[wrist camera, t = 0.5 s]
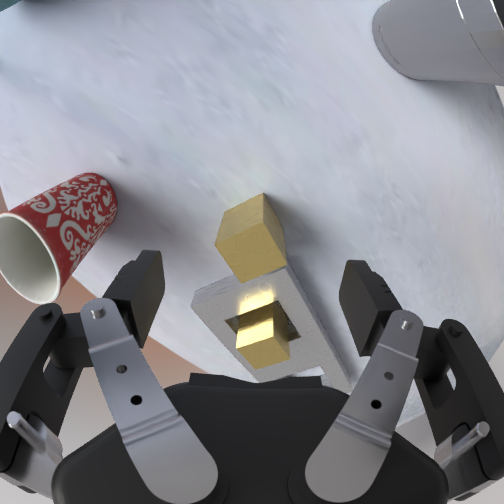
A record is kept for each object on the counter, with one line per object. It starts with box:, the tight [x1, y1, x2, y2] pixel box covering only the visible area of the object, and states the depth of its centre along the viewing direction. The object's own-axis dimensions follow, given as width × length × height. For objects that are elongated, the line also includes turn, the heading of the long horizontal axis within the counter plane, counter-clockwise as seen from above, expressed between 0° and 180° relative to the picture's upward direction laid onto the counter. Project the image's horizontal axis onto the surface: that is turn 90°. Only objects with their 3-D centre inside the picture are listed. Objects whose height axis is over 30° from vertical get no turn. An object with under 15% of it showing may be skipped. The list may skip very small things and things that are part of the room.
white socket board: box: [191, 260, 353, 393], centre depth 38 cm, size 28×12×3 cm, turn 29°
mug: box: [0, 173, 117, 305], centre depth 24 cm, size 13×9×14 cm
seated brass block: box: [236, 301, 290, 370], centre depth 34 cm, size 4×4×7 cm
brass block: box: [215, 193, 287, 284], centre depth 27 cm, size 4×4×7 cm
